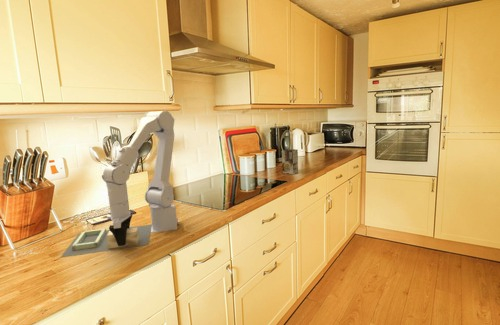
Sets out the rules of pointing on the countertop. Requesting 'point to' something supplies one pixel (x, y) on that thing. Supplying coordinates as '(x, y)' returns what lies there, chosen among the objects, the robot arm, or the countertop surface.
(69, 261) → the countertop surface
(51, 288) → the countertop surface
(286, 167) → the coffee box
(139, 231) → the rubber mat
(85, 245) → the sage frame
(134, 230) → the birch block
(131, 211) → the chocolate bar
